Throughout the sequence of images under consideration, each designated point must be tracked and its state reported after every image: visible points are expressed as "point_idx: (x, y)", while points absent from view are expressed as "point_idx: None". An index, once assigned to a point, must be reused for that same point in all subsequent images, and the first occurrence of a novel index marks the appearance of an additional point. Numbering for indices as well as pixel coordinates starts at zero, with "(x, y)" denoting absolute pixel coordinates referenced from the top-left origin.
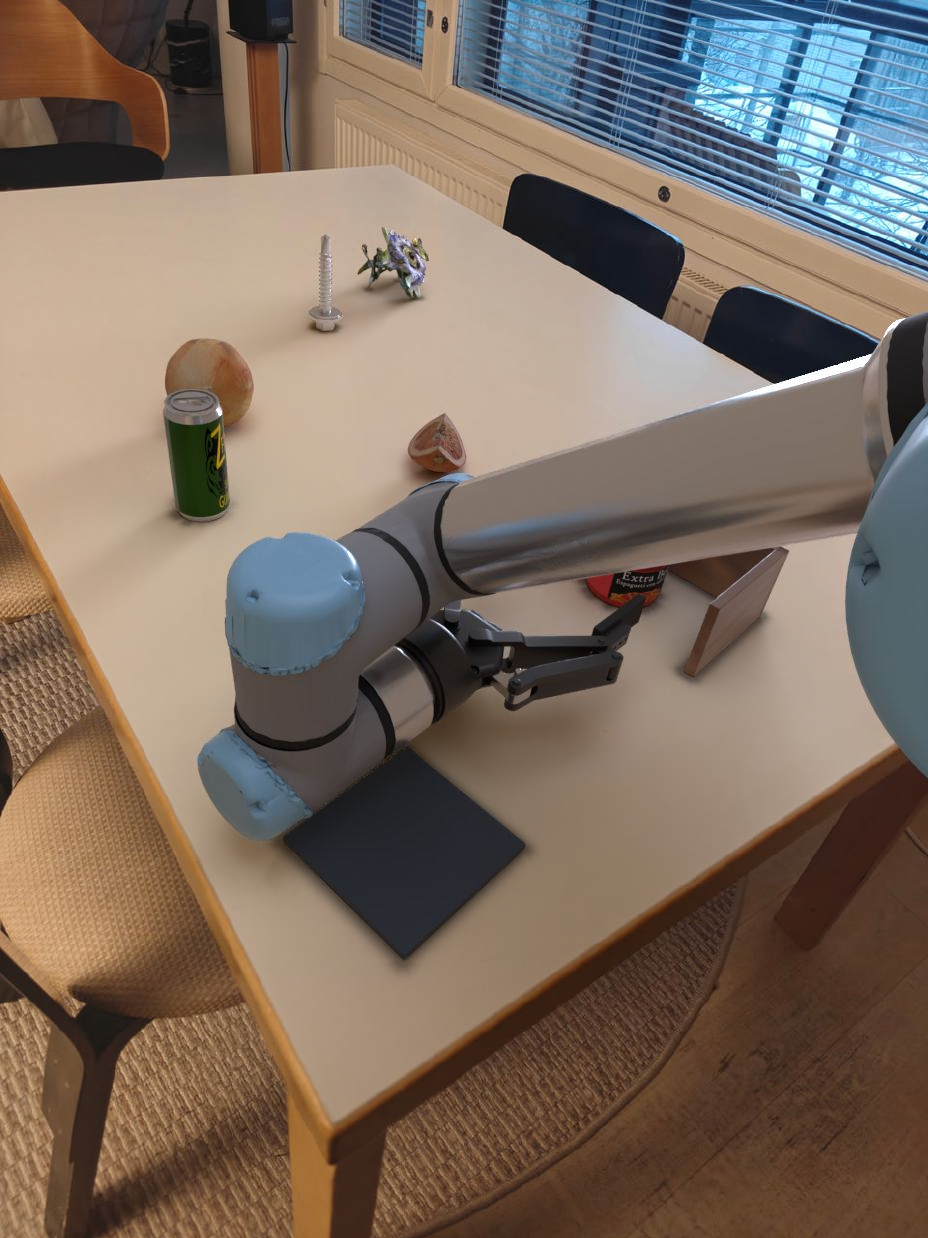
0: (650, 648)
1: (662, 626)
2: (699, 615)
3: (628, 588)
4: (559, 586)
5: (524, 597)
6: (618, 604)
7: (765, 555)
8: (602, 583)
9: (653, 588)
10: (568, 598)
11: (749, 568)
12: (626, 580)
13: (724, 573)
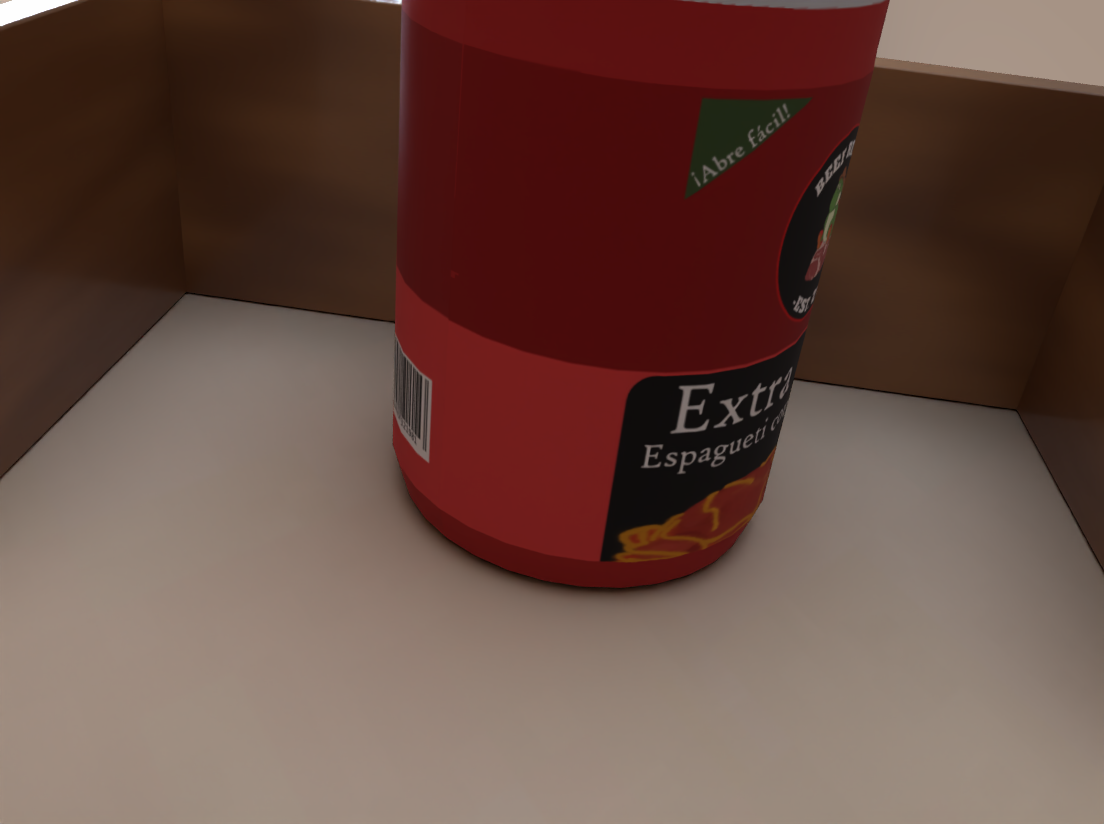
0: (976, 737)
1: (882, 587)
2: (920, 475)
3: (705, 473)
4: (320, 609)
5: (153, 787)
6: (658, 573)
7: (1090, 142)
8: (557, 502)
9: (780, 430)
10: (407, 656)
11: (1018, 224)
12: (694, 435)
13: (909, 284)
